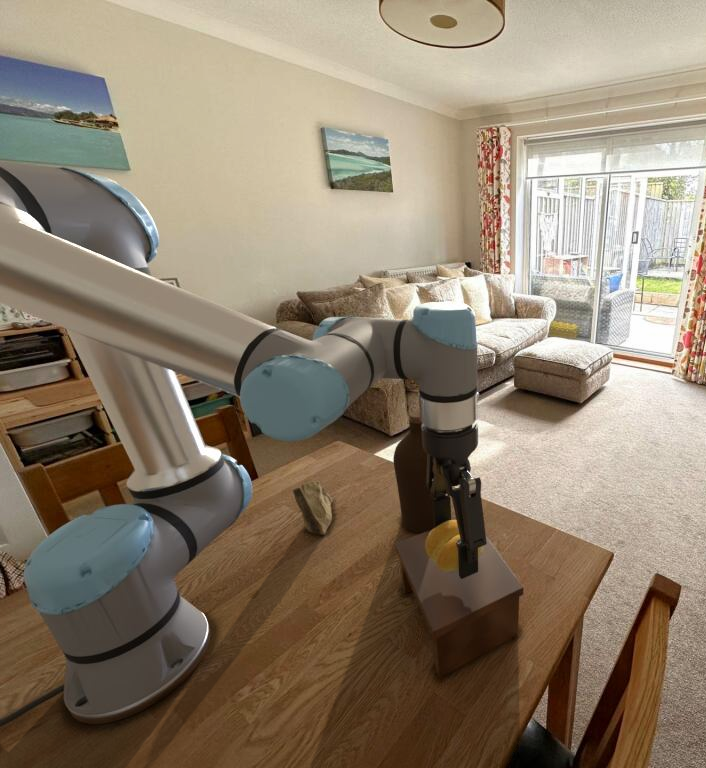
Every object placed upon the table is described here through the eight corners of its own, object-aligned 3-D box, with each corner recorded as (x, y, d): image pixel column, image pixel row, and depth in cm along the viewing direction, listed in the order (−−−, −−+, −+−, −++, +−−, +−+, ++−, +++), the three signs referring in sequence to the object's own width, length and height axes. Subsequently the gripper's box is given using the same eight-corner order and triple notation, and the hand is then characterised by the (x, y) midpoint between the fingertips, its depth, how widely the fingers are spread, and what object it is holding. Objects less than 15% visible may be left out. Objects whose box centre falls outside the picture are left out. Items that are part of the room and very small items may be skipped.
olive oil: (410, 542, 80) (400, 431, 71) (392, 512, 88) (381, 409, 79) (458, 522, 86) (454, 417, 77) (437, 496, 94) (431, 398, 85)
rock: (314, 487, 92) (277, 509, 83) (331, 464, 89) (295, 484, 80) (346, 521, 92) (313, 547, 82) (365, 499, 88) (332, 523, 79)
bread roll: (449, 585, 57) (448, 563, 55) (418, 548, 63) (416, 527, 61) (495, 556, 62) (495, 535, 60) (462, 524, 68) (461, 505, 66)
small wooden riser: (436, 682, 56) (433, 631, 52) (399, 587, 70) (394, 543, 67) (521, 634, 63) (523, 587, 59) (471, 557, 77) (471, 515, 73)
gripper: (516, 451, 47) (512, 593, 55) (445, 388, 64) (450, 503, 72) (456, 469, 43) (461, 618, 52) (398, 397, 61) (409, 517, 69)
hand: (455, 551), depth 62 cm, fingers closed on bread roll, 9 cm apart
